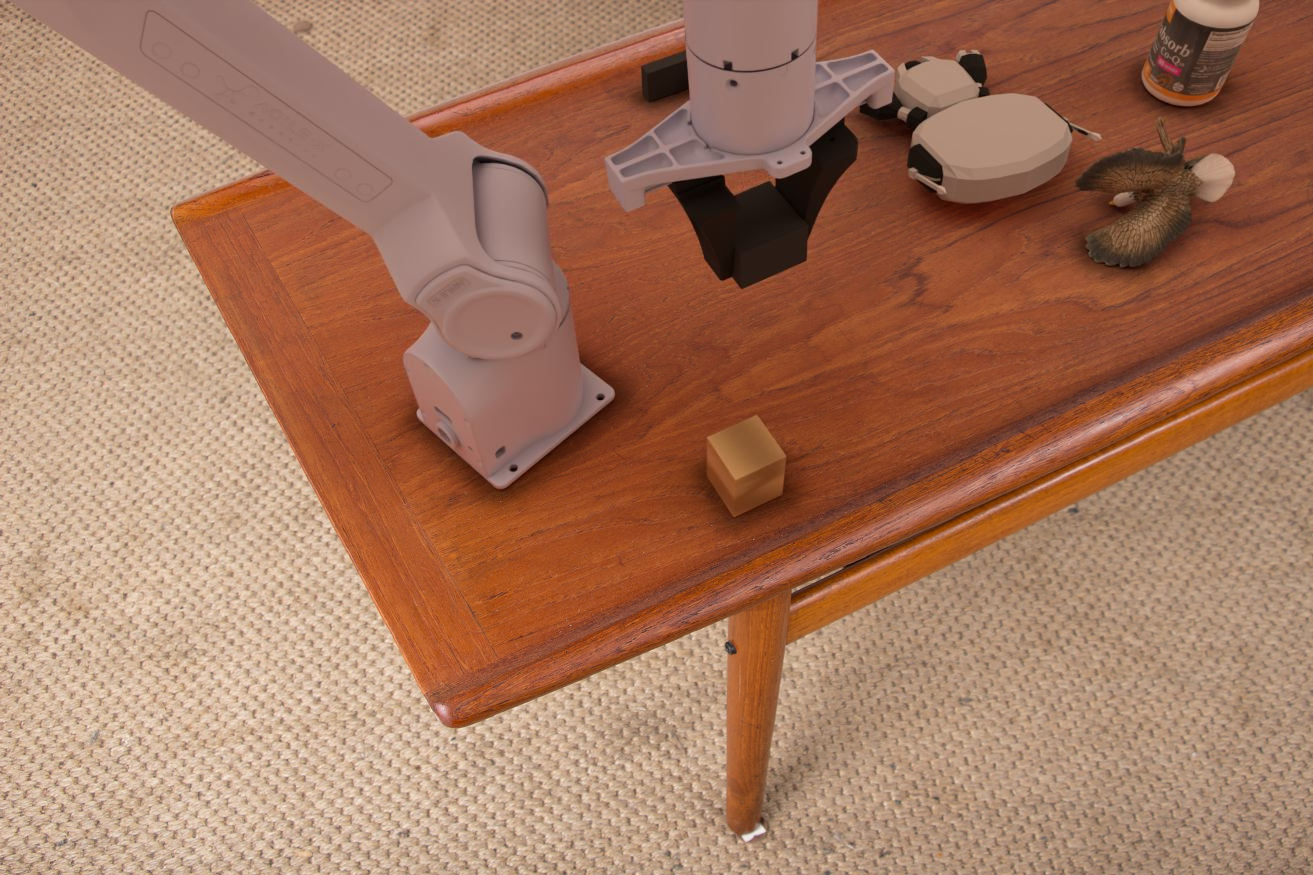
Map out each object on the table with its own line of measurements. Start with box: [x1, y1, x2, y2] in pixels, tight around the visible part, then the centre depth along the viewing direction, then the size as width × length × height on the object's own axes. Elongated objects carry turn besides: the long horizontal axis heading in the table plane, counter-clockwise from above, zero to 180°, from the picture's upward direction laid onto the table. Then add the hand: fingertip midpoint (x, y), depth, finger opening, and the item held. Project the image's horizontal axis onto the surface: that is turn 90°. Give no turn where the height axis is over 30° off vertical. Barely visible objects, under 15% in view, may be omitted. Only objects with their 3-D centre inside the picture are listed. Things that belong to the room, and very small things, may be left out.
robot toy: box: [858, 49, 1103, 205], centre depth 75 cm, size 12×4×15 cm
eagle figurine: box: [1073, 116, 1236, 268], centre depth 70 cm, size 8×7×9 cm
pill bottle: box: [1141, 0, 1260, 107], centre depth 76 cm, size 6×6×10 cm
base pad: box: [640, 49, 689, 103], centre depth 80 cm, size 9×7×3 cm
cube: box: [706, 414, 787, 518], centre depth 60 cm, size 3×3×4 cm
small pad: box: [731, 180, 809, 290], centre depth 57 cm, size 4×4×3 cm
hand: (754, 251), depth 58 cm, fingers closed on small pad, 4 cm apart
